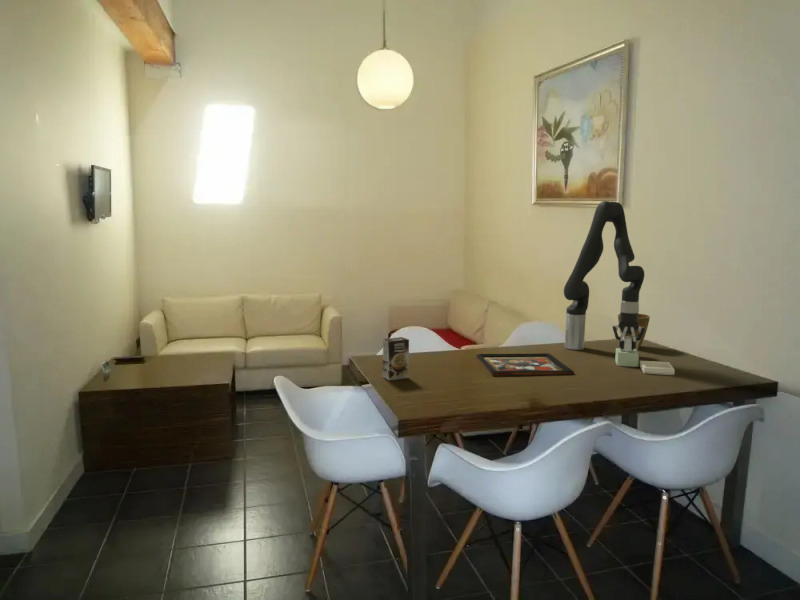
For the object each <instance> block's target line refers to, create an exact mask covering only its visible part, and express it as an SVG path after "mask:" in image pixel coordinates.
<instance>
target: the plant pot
mask: <svg viewBox="0 0 800 600" xmlns="http://www.w3.org/2000/svg"><path fill="white" fill-rule="evenodd" d="M650 319H651V317H650V315H648V314H645V313H639V314H638V325H639V326H640V327H644V328H645V331H644V333H643V335H642V337H641V340H640V342H639V345H638V349H641V346H642V344H643V343H644V342H643V341H644V339H645V338H646V334H647V330H648V327H649V323H650ZM617 321H618V324H619V323H620V313H619V314H617ZM618 330H619V333H620V334H621V332H622V331H621V329H620V328H618ZM639 332H640V331H639V328H638V329H637V330H636V331H635V337H637V336H638V334H639ZM625 336H630V337H632V335H631V334H625Z"/></svg>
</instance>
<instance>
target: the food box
mask: <svg viewBox="0 0 800 600" xmlns="http://www.w3.org/2000/svg"><path fill="white" fill-rule="evenodd" d="M409 358H410V339H408V338H406V337H402V336H401V337H391V338H390V337H388V338H383V339H382V378H384V379H385V380H388V381H396V380H404V379H409V373H410V372H409V371H410V369H409V364H410V362H409V361H410V359H409Z"/></svg>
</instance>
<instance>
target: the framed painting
mask: <svg viewBox="0 0 800 600" xmlns="http://www.w3.org/2000/svg"><path fill="white" fill-rule="evenodd" d="M476 359H477V360H478V363H480V365H482V366H483V368H484V369H485V370H486V371H487V372H488V373H489V375H490V376H491V377H523V376H525V377H526V376H560V375H561V376H564V375H565V376H569V375H574V373H575V372H574V370H573V369H572V368H570V367H568V366H567V365H566V364H564V363H563V362H561V360H559V359H557V358H556V357H555V356H553V355H552V354H550V353H547V352H546V353H545V352H544V353H541V352H540V353H479V354H476Z"/></svg>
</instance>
